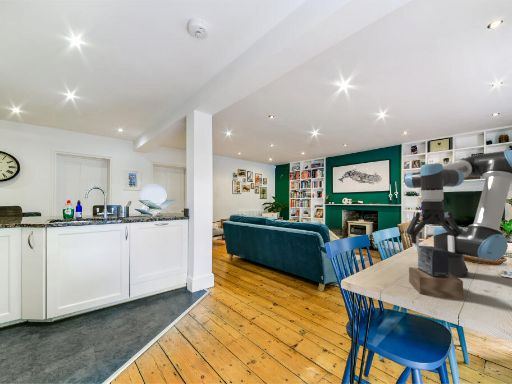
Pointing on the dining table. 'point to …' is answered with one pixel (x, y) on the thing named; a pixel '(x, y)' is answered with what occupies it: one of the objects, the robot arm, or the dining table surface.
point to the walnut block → (436, 284)
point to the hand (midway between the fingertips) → (433, 251)
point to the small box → (433, 261)
